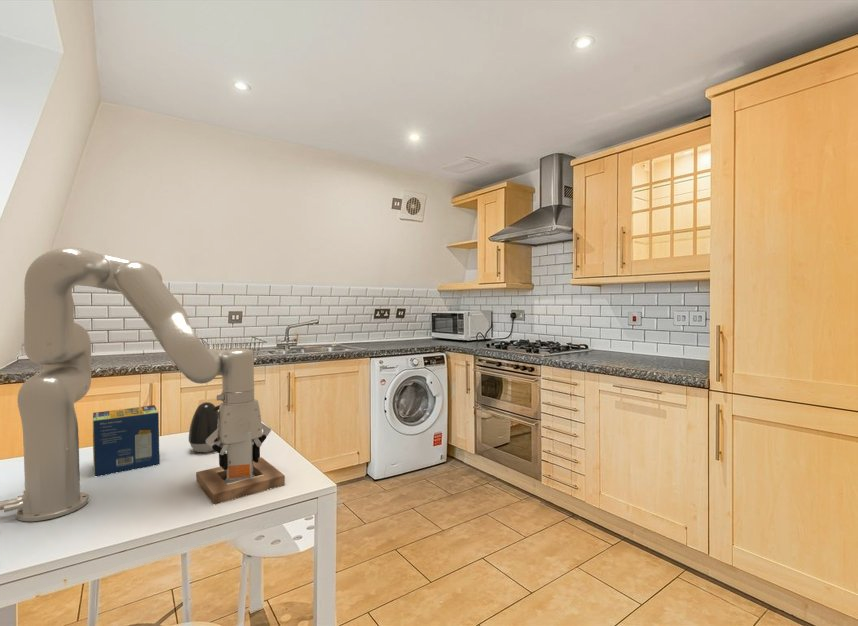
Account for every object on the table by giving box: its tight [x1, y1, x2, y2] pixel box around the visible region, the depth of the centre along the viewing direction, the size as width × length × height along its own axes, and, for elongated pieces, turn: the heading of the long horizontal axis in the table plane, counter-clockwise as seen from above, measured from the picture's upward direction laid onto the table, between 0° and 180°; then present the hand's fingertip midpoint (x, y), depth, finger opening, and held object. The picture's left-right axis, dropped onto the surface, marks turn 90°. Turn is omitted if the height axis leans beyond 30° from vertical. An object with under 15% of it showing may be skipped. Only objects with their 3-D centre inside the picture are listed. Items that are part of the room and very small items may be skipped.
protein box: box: [92, 404, 161, 477], centre depth 127 cm, size 10×15×16 cm
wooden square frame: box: [195, 456, 286, 505], centre depth 115 cm, size 17×17×3 cm
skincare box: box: [226, 432, 253, 481], centre depth 114 cm, size 6×4×12 cm
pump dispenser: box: [188, 401, 221, 453], centre depth 140 cm, size 10×10×15 cm
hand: (240, 464), depth 115 cm, fingers closed on skincare box, 7 cm apart
